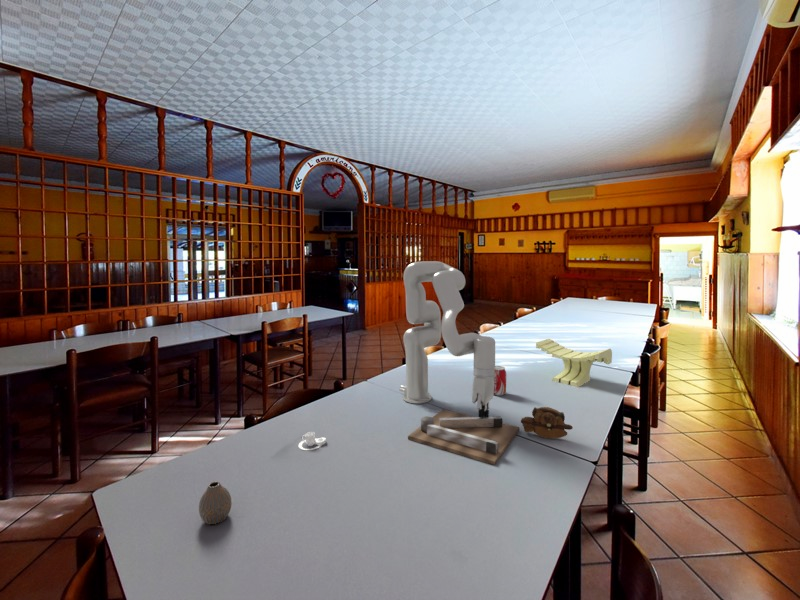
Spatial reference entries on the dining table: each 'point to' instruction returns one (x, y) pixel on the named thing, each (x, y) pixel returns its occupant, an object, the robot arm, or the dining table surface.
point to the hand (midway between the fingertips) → (483, 420)
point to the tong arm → (471, 422)
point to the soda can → (499, 381)
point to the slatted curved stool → (574, 362)
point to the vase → (215, 503)
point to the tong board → (476, 431)
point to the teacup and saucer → (311, 441)
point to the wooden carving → (546, 423)
